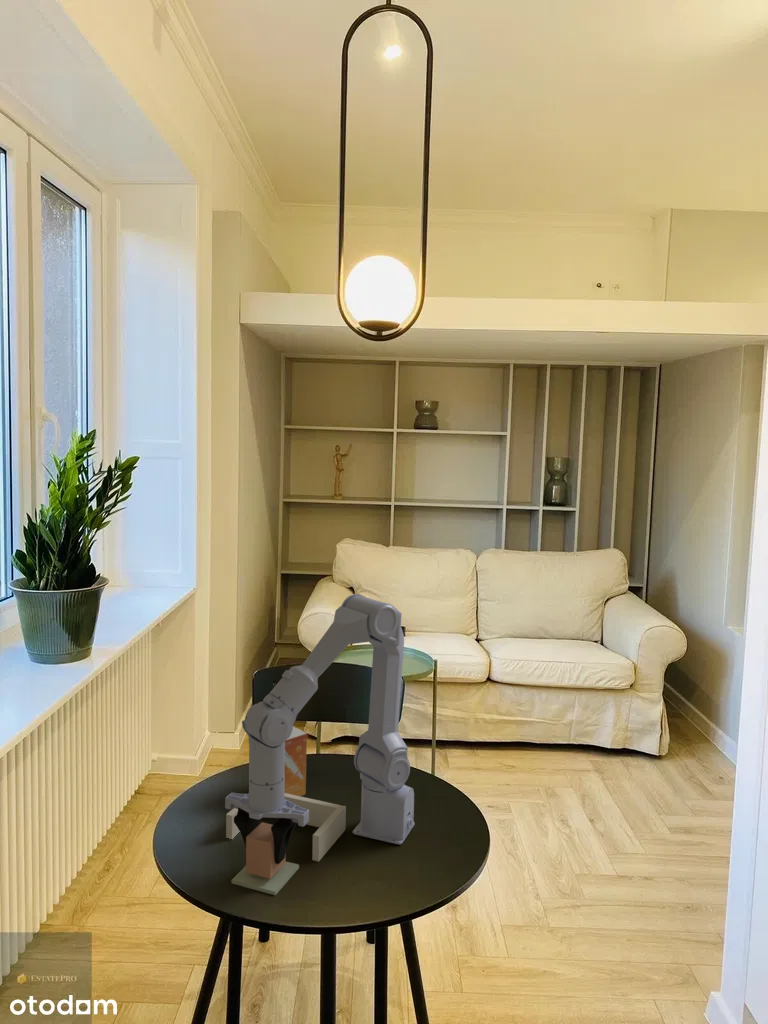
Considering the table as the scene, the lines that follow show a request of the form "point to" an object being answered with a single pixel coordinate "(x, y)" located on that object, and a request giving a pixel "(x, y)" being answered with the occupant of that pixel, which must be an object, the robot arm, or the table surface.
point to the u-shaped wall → (309, 822)
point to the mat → (266, 879)
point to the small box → (295, 763)
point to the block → (261, 852)
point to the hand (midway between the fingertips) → (266, 857)
